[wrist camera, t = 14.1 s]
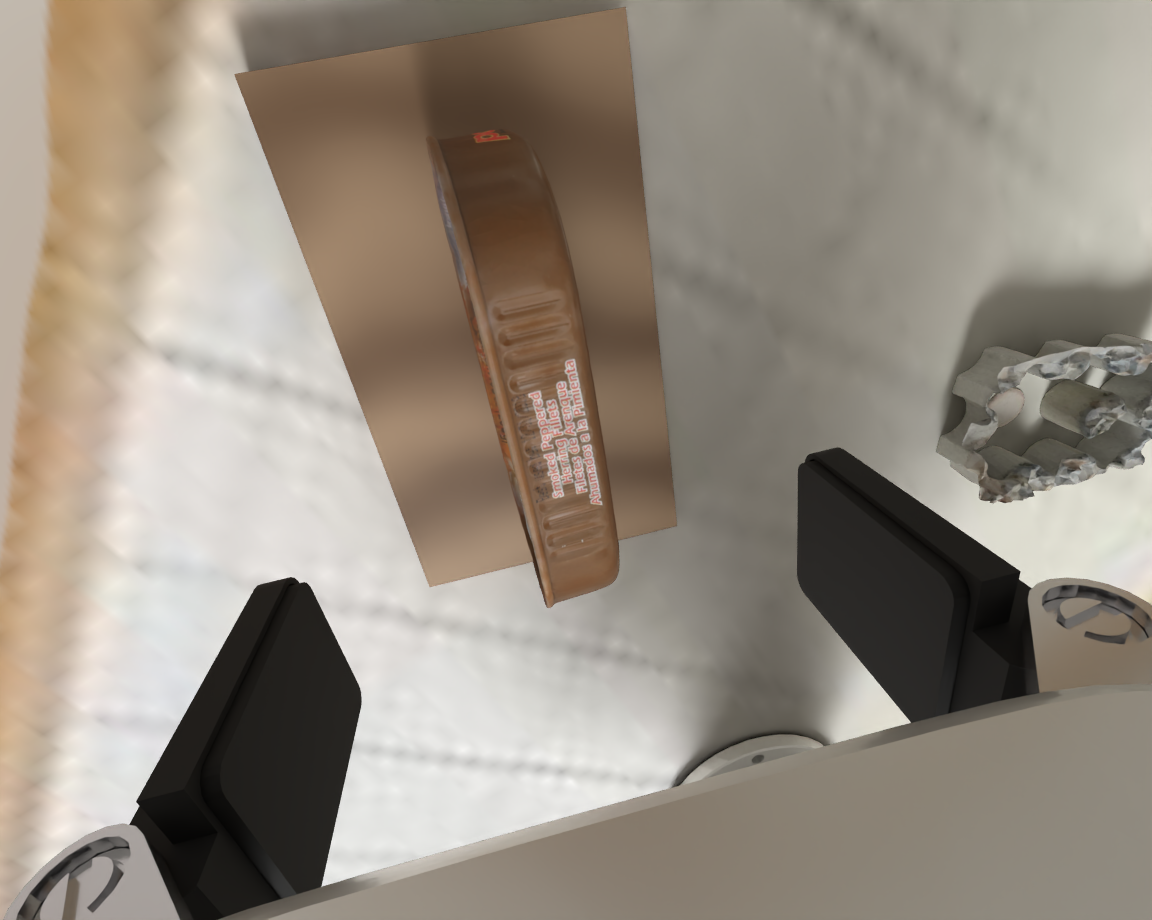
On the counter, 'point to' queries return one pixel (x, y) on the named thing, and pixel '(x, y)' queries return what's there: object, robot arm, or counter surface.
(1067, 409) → the egg carton
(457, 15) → the counter surface
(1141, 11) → the counter surface
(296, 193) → the walnut board
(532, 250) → the tin
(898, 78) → the counter surface
